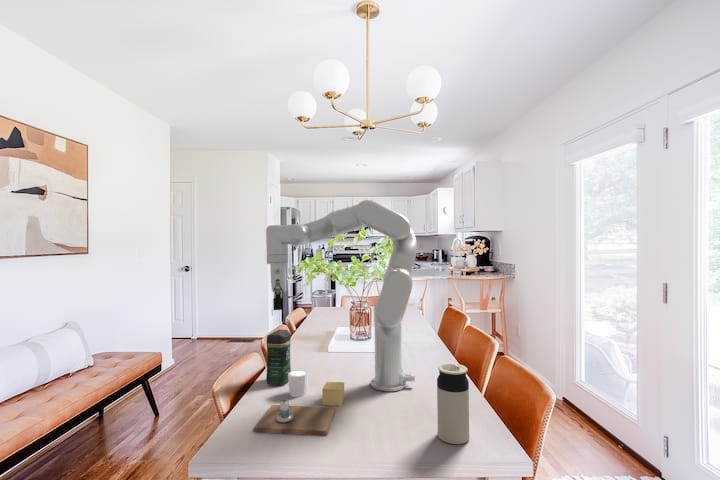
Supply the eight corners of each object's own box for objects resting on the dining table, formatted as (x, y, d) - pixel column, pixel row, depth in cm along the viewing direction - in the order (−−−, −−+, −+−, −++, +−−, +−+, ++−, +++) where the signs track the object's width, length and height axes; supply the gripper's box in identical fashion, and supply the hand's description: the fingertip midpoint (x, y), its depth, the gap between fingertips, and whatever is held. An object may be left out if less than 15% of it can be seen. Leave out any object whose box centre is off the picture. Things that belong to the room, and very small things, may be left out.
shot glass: (291, 399, 122) (291, 377, 122) (285, 392, 128) (285, 371, 128) (311, 395, 125) (311, 374, 125) (304, 388, 131) (304, 368, 131)
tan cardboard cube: (344, 397, 123) (344, 382, 123) (341, 405, 117) (341, 389, 117) (326, 397, 123) (326, 381, 123) (322, 404, 117) (322, 388, 117)
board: (336, 411, 113) (335, 407, 113) (326, 435, 99) (326, 430, 99) (271, 408, 115) (271, 404, 115) (253, 431, 101) (253, 427, 101)
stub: (295, 416, 107) (295, 398, 107) (290, 424, 103) (290, 405, 103) (279, 415, 108) (279, 398, 108) (273, 423, 103) (273, 405, 103)
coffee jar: (284, 387, 132) (284, 334, 132) (263, 386, 133) (263, 334, 133) (293, 377, 142) (293, 328, 142) (274, 376, 143) (273, 327, 143)
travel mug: (442, 446, 93) (441, 373, 93) (434, 430, 101) (433, 363, 101) (473, 444, 94) (473, 372, 94) (463, 428, 101) (462, 362, 102)
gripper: (288, 260, 127) (289, 311, 127) (287, 258, 144) (288, 303, 143) (265, 261, 125) (266, 312, 125) (267, 258, 142) (268, 304, 142)
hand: (278, 307), depth 134 cm, fingers open, 9 cm apart
